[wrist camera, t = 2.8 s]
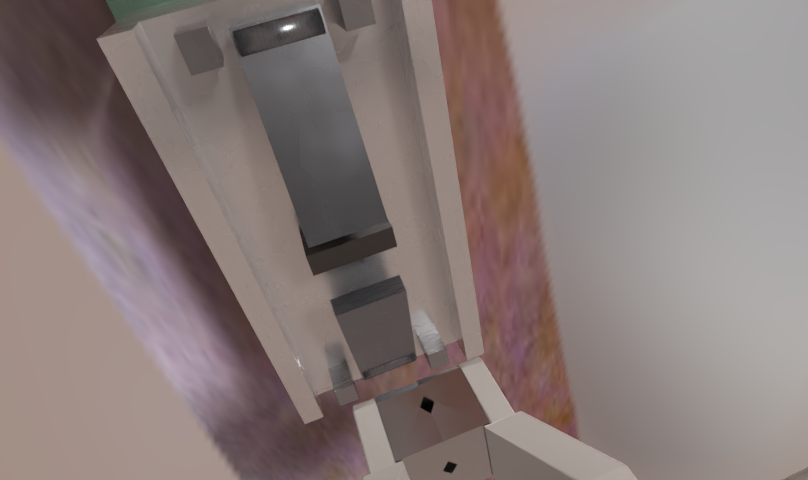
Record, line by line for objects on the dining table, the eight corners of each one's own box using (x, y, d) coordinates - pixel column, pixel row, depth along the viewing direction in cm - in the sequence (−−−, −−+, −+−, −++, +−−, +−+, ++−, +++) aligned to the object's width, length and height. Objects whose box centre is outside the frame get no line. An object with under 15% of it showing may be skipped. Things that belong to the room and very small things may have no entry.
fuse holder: (101, -16, 18) (51, 8, 13) (381, -86, 20) (440, -91, 14) (288, 356, 30) (302, 447, 25) (452, 295, 32) (498, 368, 26)
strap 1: (230, 33, 16) (227, 27, 15) (318, 9, 16) (319, 2, 15) (308, 243, 18) (308, 249, 17) (384, 217, 18) (389, 221, 17)
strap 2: (411, 345, 26) (418, 362, 26) (358, 366, 26) (364, 383, 25) (399, 274, 20) (407, 294, 20) (330, 299, 20) (336, 320, 19)
